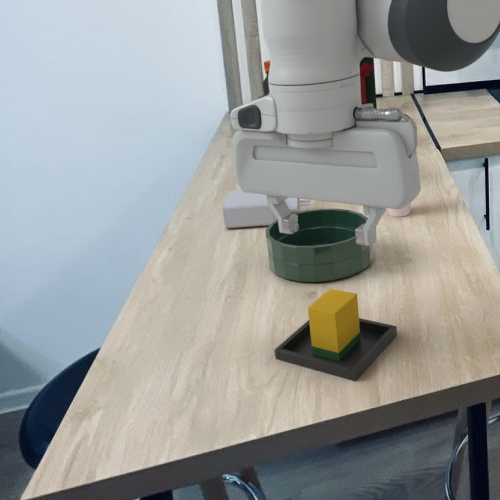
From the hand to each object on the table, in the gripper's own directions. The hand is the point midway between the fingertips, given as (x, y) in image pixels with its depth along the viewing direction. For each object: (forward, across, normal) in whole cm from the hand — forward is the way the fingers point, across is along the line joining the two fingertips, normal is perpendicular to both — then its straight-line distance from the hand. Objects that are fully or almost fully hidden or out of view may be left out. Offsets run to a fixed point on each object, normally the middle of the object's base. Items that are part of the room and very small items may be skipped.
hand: (326, 237), depth 70 cm
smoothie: (+14, +12, -43) cm, 47 cm away
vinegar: (+14, +66, -87) cm, 110 cm away
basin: (+14, +14, -20) cm, 28 cm away
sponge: (+14, 0, 0) cm, 14 cm away
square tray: (+14, 0, 0) cm, 14 cm away
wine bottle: (+14, +54, -111) cm, 124 cm away
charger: (+14, +33, -34) cm, 50 cm away
